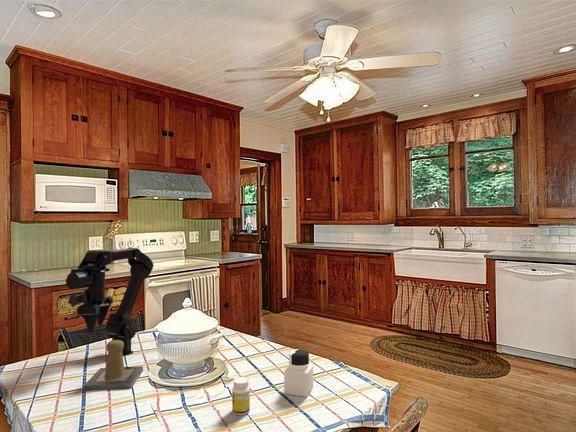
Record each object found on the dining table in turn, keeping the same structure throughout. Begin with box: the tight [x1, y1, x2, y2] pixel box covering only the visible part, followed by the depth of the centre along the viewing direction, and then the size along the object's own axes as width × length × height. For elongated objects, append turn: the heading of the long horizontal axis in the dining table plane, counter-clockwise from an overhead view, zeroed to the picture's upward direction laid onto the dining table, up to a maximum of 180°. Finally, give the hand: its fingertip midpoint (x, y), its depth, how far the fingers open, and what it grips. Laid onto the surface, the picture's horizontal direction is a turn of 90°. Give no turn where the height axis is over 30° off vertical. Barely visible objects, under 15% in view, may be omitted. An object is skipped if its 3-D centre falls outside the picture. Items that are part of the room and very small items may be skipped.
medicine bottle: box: [283, 348, 314, 398], centre depth 115 cm, size 7×7×12 cm
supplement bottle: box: [231, 376, 251, 416], centre depth 102 cm, size 5×5×8 cm
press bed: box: [83, 365, 144, 392], centre depth 122 cm, size 14×14×2 cm
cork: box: [105, 340, 125, 379], centre depth 122 cm, size 6×6×11 cm
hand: (95, 328), depth 135 cm, fingers open, 9 cm apart
